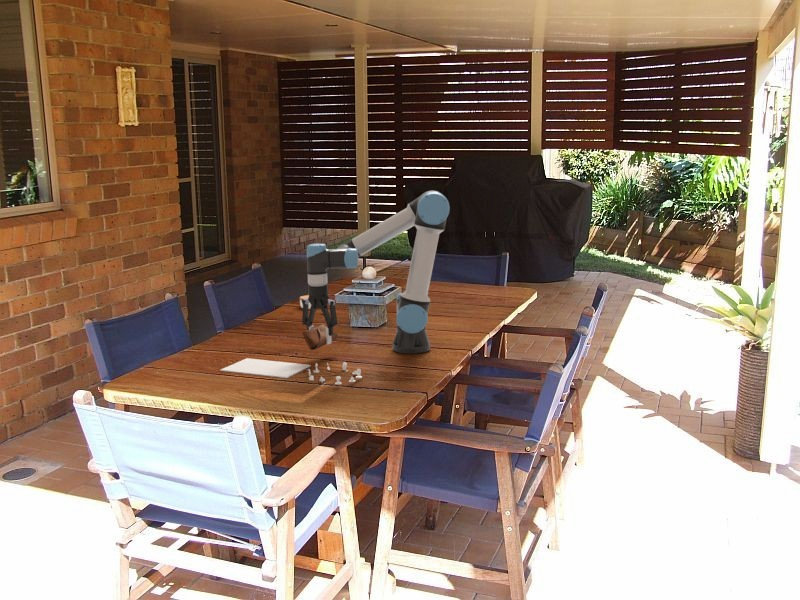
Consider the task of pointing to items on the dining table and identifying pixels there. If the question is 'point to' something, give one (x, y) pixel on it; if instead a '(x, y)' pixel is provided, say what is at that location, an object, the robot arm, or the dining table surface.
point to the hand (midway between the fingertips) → (320, 343)
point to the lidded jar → (304, 298)
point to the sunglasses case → (317, 337)
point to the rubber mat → (266, 368)
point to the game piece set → (337, 376)
